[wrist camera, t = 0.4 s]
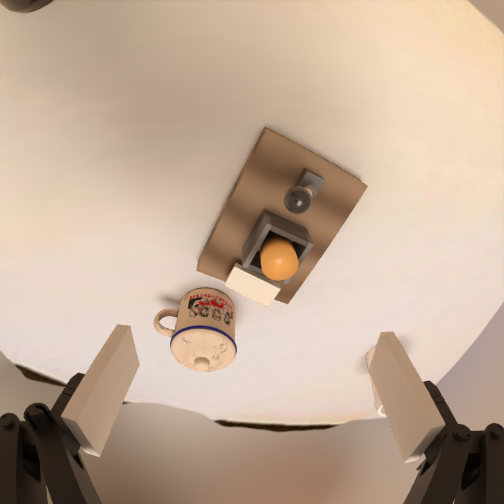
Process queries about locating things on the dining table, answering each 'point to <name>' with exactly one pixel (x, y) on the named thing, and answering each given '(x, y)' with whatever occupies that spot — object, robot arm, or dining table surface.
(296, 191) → the toggle lever
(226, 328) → the teacup with lid
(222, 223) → the switch panel
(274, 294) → the rocker switch
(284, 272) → the push button
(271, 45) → the dining table surface
